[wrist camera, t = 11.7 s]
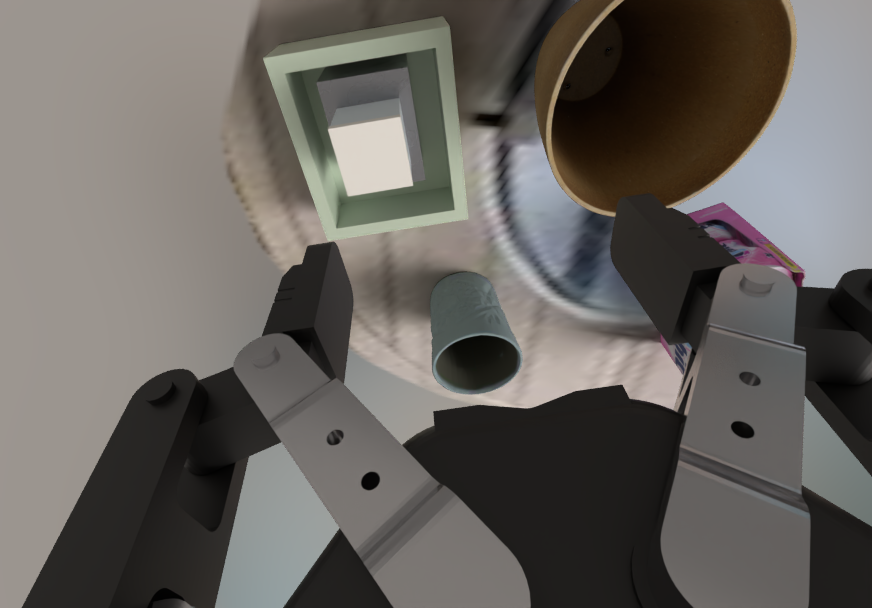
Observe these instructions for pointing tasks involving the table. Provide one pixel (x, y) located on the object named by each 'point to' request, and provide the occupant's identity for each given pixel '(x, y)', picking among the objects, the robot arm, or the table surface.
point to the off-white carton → (371, 147)
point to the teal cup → (471, 336)
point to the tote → (436, 119)
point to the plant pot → (659, 93)
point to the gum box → (736, 255)
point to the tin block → (374, 94)
